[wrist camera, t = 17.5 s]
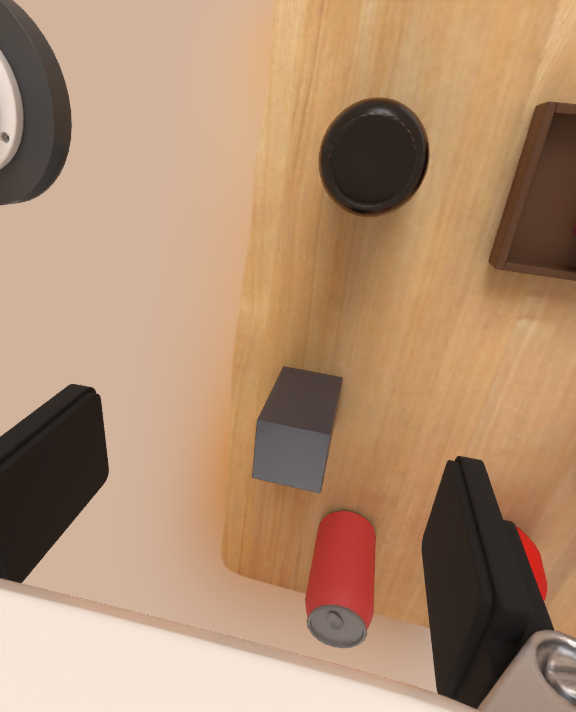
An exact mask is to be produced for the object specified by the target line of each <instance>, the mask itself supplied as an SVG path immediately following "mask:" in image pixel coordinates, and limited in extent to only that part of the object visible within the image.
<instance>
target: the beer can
mask: <svg viewBox="0 0 576 712" xmlns="http://www.w3.org/2000/svg"><path fill="white" fill-rule="evenodd" d="M375 542H376V537H375V531H374V529H373V527H372V525H371V524H370V523H369V521H368V520H367V519H366V518H364V517H362V516H361V515H359V514H357V513H353V512H350V511H338V512H333V513H331V514H329V515H327V516H326V517H325V518H324V519H323V520H322V521H321V522H320V525H319V528H318V533H317V538H316V544H315V549H314V555H313V560H312V566H311V571H310V576H309V582H308V587H307V593H306V598H305V601H306V612H307V617H308V618H307V626H308V629H309V630H310V632H311V634H312V635H313V636H314V637H315V638H317V639H318V640H319V641H321V642H323V643H324V644H327V645H330V646H332V647H338V648H351V647H354V646H357V645H359V644H361V643H362V642H363V641H364V640H365V638H366V636H367V629H368V627H369V625H370V623H371V620H372V617H373V607H374V574H375Z"/></svg>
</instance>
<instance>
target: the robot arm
mask: <svg viewBox="0 0 576 712" xmlns="http://www.w3.org/2000/svg"><path fill="white" fill-rule="evenodd" d="M23 119H24V112H23V105H22V98H21V94H20V91H19V87H18V84H17V81H16V78H15V76H14V74H13V71H12V69H11V67H10V65H9V63H8V61H7V60H6V58H5V56H4V55H3V53H2V51H1V50H0V169H2V168H3V167H4V166H5V165H7V164H8V163H9V162H10V161H11V159H12V158H13V157H14V155H15V154H16V152H17V150H18V147H19V145H20V142H21V138H22V133H23ZM108 473H109V468H108V458H107V449H106V441H105V431H104V422H103V413H102V404H101V398H100V395H99V394H96V391H95V389H94V388H92V387H87V386H82V385H76V384H70V385H69V386H67V387H66V388H65V389H63V390H62V391H60V392H59V393H58V394H56V395H55V396H54V397H52V398H51V399H50V400H49V401H47V402H46V403H45V404H43V405H42V406H41V407H39V408H38V409H37V410H35V411H34V412H33V413H31V414H30V415H29V416H27V417H26V418H25V419H23V420H22V421H21V422H19V423H18V424H17V425H15V426H14V427H13V428H11V429H10V430H9V431H7V432H6V433H5V434H3V435H2V436H1V437H0V712H576V639H575V638H574V637H572V636H569V635H567V634H564V633H562V632H559V631H554V628H553V625H552V622H551V620H550V617H549V614H548V612H547V609H546V606H545V603H544V601H543V598H542V595H541V593H540V590H539V587H538V584H537V582H536V579H535V576H534V573H533V571H532V568H531V565H530V563H529V560H528V557H527V554H526V552H525V549H524V546H523V544H522V541H521V538H520V535H519V533H518V530H517V528H516V526H515V524H514V523H512V522H511V521H506V520H503V518H502V515H501V512H500V509H499V507H498V504H497V501H496V498H495V495H494V492H493V489H492V486H491V483H490V480H489V477H488V474H487V471H486V468H485V465H484V463H483V461H482V460H478V459H472V458H467V457H462V456H457V458H456V459H455V461H451V460H448V462H447V464H446V467H445V470H444V473H443V476H442V479H441V482H440V485H439V488H438V492H437V495H436V498H435V501H434V504H433V507H432V510H431V513H430V517H429V520H428V523H427V526H426V529H425V532H424V535H423V540H422V558H423V568H424V577H425V586H426V596H427V605H428V614H429V623H430V632H431V642H432V651H433V660H434V670H435V678H436V687H437V692H438V694H437V693H434V692H431V691H428V690H424V689H421V688H418V687H415V686H412V685H409V684H406V683H402V682H399V681H395V680H391V679H388V678H385V677H381V676H378V675H374V674H370V673H367V672H363V671H360V670H356V669H352V668H349V667H345V666H342V665H338V664H334V663H330V662H327V661H323V660H319V659H315V658H312V657H308V656H304V655H300V654H296V653H292V652H289V651H285V650H281V649H277V648H273V647H269V646H266V645H261V644H258V643H254V642H250V641H246V640H242V639H239V638H235V637H231V636H227V635H223V634H220V633H216V632H212V631H208V630H204V629H200V628H196V627H192V626H188V625H184V624H180V623H176V622H173V621H169V620H165V619H161V618H157V617H153V616H149V615H145V614H141V613H137V612H133V611H129V610H125V609H121V608H117V607H113V606H110V605H106V604H102V603H97V602H94V601H89V600H85V599H81V598H78V597H73V596H70V595H65V594H61V593H57V592H53V591H49V590H45V589H41V588H37V587H33V586H29V585H25V584H21V583H22V582H23V581H24V580H25V579H26V577H27V576H28V575H29V574H30V572H31V571H32V570H33V569H34V568H35V566H36V565H37V564H38V563H39V562H40V560H41V559H42V558H43V557H44V555H45V554H46V553H47V552H48V551H49V550H50V548H51V547H52V546H53V545H54V544H55V542H56V541H57V540H58V539H59V537H60V536H61V535H62V534H63V533H64V531H65V530H66V529H67V528H68V527H69V525H70V524H71V523H72V522H73V520H74V519H75V518H76V517H77V516H78V515H79V513H80V512H81V511H82V510H83V508H84V507H85V506H86V505H87V504H88V502H89V501H90V500H91V499H92V498H93V496H94V495H95V494H96V493H97V492H98V490H99V489H100V488H101V487H102V486H103V484H104V483H105V481H106V479H107V477H108Z"/></svg>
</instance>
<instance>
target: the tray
mask: <svg viewBox="0 0 576 712" xmlns="http://www.w3.org/2000/svg"><path fill="white" fill-rule="evenodd" d="M575 226H576V104H569V103H557V102H546V103H543V104H540V105H537V106H536V108H535V112H534V115H533V118H532V121H531V125H530V128H529V131H528V134H527V138H526V141H525V144H524V147H523V151H522V154H521V157H520V161H519V164H518V167H517V170H516V174H515V177H514V180H513V183H512V187H511V190H510V193H509V196H508V200H507V203H506V206H505V209H504V213H503V216H502V219H501V222H500V226H499V229H498V232H497V235H496V239H495V242H494V245H493V248H492V252H491V255H490V258H489V262H490V264H491V265H492V266H493V267H494V268H495V269H500V270H507V271H513V272H520V273H527V274H534V275H541V276H548V277H554V278H561V279H568V280H575V281H576V235H574V234H573V231H574V228H575Z"/></svg>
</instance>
